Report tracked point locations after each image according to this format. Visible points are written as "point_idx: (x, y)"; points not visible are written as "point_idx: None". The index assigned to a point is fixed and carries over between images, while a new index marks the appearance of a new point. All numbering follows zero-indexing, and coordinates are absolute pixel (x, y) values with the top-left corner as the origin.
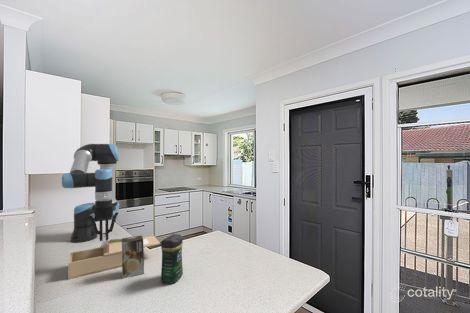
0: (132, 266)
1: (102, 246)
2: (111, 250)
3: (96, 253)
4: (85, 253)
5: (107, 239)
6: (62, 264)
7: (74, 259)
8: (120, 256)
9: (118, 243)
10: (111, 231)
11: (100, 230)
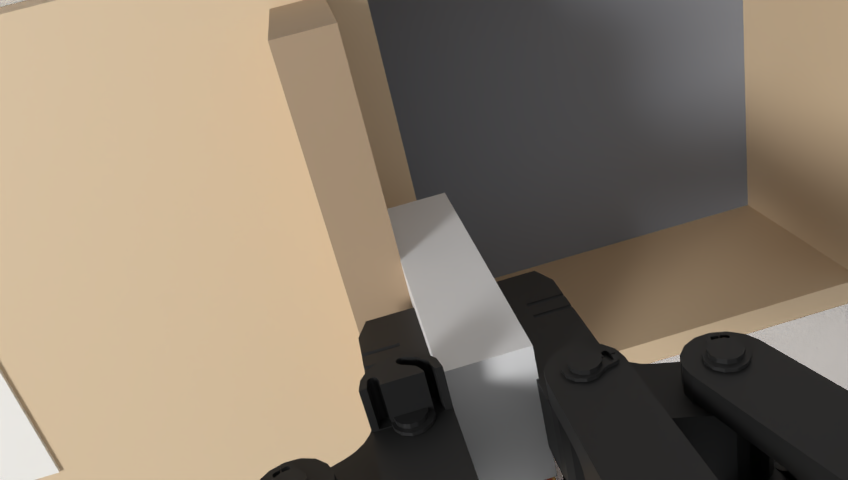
0: None
1: (450, 206)
2: (253, 130)
3: None
4: (682, 301)
5: (376, 320)
6: (840, 307)
7: (776, 241)
8: None
9: (219, 456)
10: (278, 469)
11: (648, 433)
